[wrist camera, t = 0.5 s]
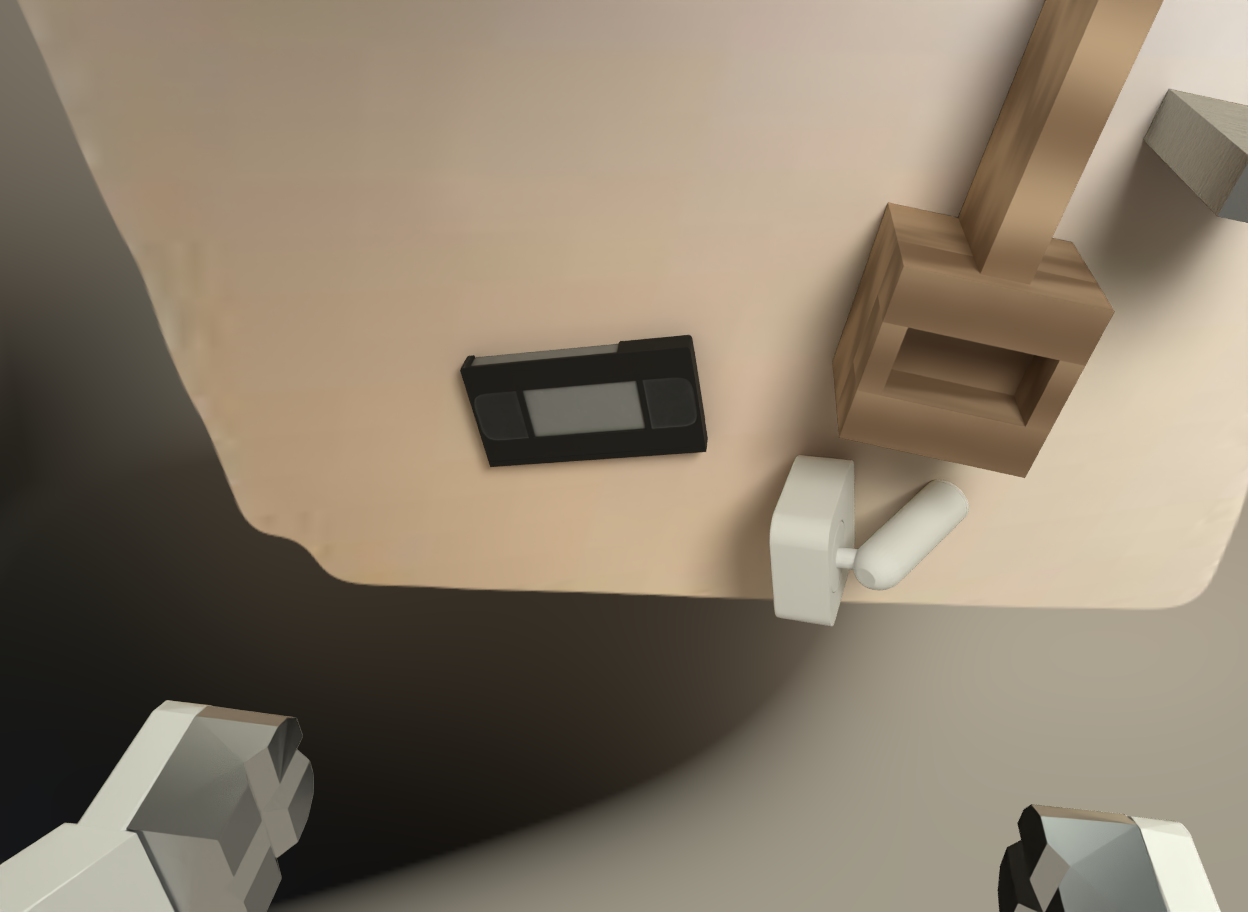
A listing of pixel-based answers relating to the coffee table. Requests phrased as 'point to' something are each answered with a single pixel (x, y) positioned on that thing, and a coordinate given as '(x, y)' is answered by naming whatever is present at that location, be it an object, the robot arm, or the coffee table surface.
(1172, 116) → the grey wood block
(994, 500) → the coffee table surface
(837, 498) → the wall hook
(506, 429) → the vhs tape
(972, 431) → the slotted wooden socket block
